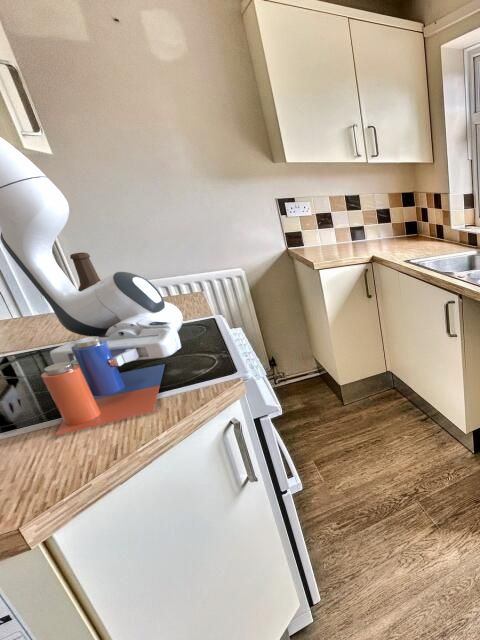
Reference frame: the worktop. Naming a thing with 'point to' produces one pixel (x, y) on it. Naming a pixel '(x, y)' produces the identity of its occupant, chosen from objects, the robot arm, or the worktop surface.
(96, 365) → the blue shaker
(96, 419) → the sorting board
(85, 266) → the beer bottle
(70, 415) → the terracotta shaker
